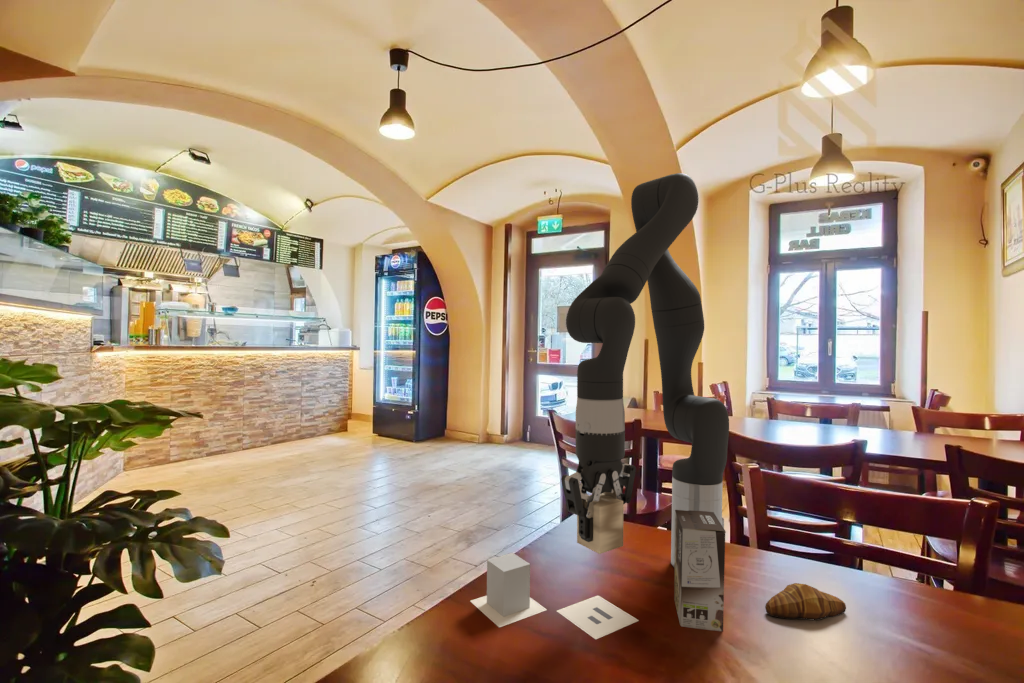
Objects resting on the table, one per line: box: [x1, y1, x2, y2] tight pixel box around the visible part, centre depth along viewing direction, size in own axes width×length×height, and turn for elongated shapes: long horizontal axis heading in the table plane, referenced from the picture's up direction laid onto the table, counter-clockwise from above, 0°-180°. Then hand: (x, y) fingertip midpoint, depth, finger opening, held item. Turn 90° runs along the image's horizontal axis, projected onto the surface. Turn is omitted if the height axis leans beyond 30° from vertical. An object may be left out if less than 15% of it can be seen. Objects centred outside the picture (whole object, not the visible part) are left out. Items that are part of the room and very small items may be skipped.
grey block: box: [486, 552, 531, 617], centre depth 82 cm, size 5×5×7 cm
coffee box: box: [673, 510, 727, 632], centre depth 80 cm, size 9×6×16 cm
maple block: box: [576, 493, 624, 555], centre depth 79 cm, size 5×5×7 cm
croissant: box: [764, 582, 847, 621], centre depth 83 cm, size 14×7×5 cm, turn 96°
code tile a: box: [556, 594, 640, 640], centre depth 79 cm, size 9×9×1 cm
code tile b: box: [469, 594, 548, 628], centre depth 82 cm, size 9×9×1 cm
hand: (599, 535), depth 79 cm, fingers closed on maple block, 5 cm apart
